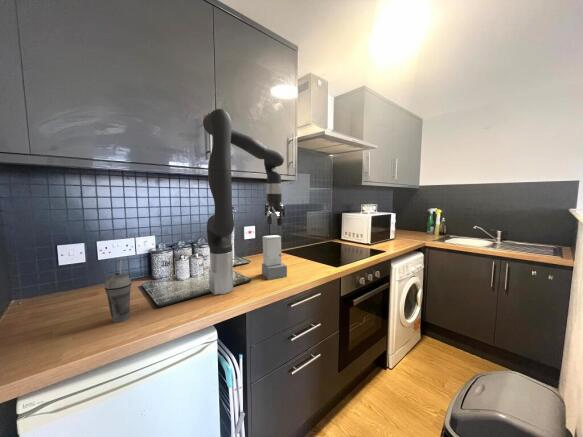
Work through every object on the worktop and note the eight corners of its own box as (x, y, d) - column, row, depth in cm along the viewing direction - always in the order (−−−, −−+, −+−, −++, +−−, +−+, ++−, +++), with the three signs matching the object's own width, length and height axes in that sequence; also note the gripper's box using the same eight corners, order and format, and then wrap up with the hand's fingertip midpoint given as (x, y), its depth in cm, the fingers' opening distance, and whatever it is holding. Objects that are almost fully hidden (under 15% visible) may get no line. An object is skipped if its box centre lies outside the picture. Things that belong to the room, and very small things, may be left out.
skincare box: (267, 266, 117) (266, 237, 116) (262, 263, 122) (261, 235, 121) (282, 263, 121) (281, 235, 120) (277, 261, 126) (276, 234, 125)
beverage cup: (105, 319, 78) (101, 260, 76) (131, 311, 83) (127, 256, 82) (108, 327, 73) (103, 264, 71) (136, 318, 78) (132, 260, 76)
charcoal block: (268, 280, 115) (268, 268, 114) (261, 274, 124) (261, 263, 123) (286, 277, 119) (286, 265, 119) (279, 271, 128) (279, 261, 128)
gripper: (260, 193, 121) (260, 224, 122) (276, 192, 110) (276, 226, 111) (272, 193, 126) (272, 223, 127) (288, 192, 115) (288, 225, 116)
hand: (274, 225), depth 119 cm, fingers open, 8 cm apart
